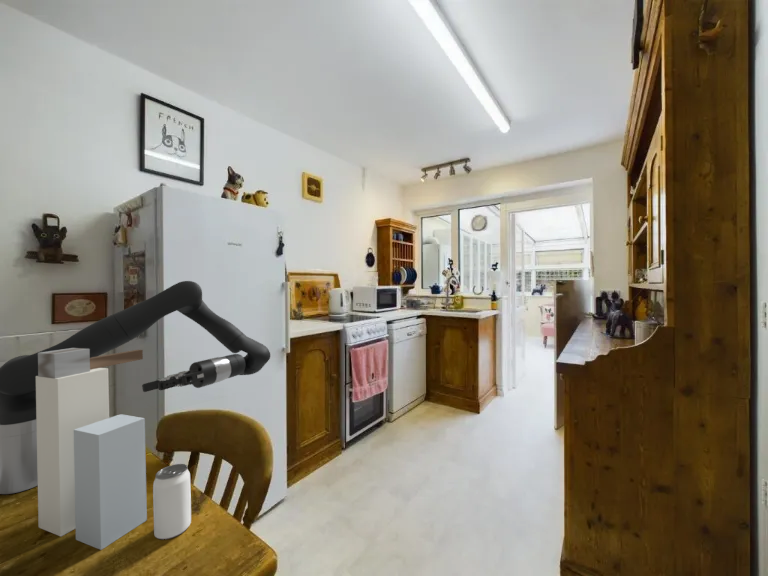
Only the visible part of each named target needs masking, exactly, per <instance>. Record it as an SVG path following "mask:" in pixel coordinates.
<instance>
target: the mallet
mask: <svg viewBox="0 0 768 576" xmlns="http://www.w3.org/2000/svg"><path fill="white" fill-rule="evenodd" d="M143 355H144V354H143V349H134V350H133V349H132V350H126V351H122V352H116V353H115V352H114V353H111V354H110V353H109V354H105V355H104V354H102V355H99V356H97V357H92V358H90V349H83V348H69V349H62V350H55V351H48V352H41V353H38V377H46V378H54V379H56V378H61V377H65V376H70V375H75V374H80V373H85V372H90V370H91V369H96V368H106V367H110V366H115V365H120V364H126V363H130V362H135V361H139V360H140V361H141V360H143V359H144V358H143V357H144V356H143Z"/></svg>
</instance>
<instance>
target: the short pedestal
mask: <svg viewBox="0 0 768 576" xmlns="http://www.w3.org/2000/svg"><path fill="white" fill-rule="evenodd" d="M146 455H147V454H146V419H145V417H140V416H139V417H138V416H135V415H134V416H133V415H127V414H122V413H121V414H117V415H114V416H109V418H107V419H104V420H101V421H98V422H95V423H92V424H89V425H86V426H83V427H80V428H77V429H74V473H75V523H76V528H75V540H76V541H78V542H81V543H84V544H85V545H88V546H90V547H93V548H95V549H98V550H100V551H102V550H104V549H105V548H106V547H108V546H109V545H111V544H113V543H114V542H116V541H117V540H118V539H121V538H122V537H123V536H126V534H128V533H129V532H131V531H132V530H134V529H136V528H137V527H140V525H142V524H143V523H145V522H146V521H148V513H147V512H148V511H147V510H148V509H147V507H148V506H147V504H148V503H147V474H146V473H147V462H146Z"/></svg>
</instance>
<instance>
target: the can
mask: <svg viewBox="0 0 768 576" xmlns="http://www.w3.org/2000/svg"><path fill="white" fill-rule="evenodd" d="M152 484H153V485H152V495H153V496H152V497H153V499H152V501H153V505H152V506H153V535H154V537H155V538H156V539H158V540H164V539H165V540H169V539H173V538H175V537H178V536H180V535H181V534H183V533H184V532H185V531H186V530H187V529H188V528H189V527H190V525H191V523H192V498H191V492H192V491H191V473H190V471H189V469H188V465H187V464H185V463H175V464H172V465H168V466H166V467H163V468H161V469H160V470H158V471H157V472H156V473H155V478H154V481H153V483H152Z"/></svg>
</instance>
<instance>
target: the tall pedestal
mask: <svg viewBox="0 0 768 576" xmlns="http://www.w3.org/2000/svg"><path fill="white" fill-rule="evenodd" d="M109 380H110V379H109V368H106V367H101V368H96V369H91V370H90V372H85V373H80V374H75V375H70V376H65V377H61V378H56V379H54V378H46V377H38V376H36V420H37V472H38V486H37V511H38V512H37V513H38V515H37V516H38V517H37V518H38V523H37V524H38V529H42V530H44V531H46V532H49V533H52V534H54V535H56V536H59V537H63V536H65V535H66V534H68V533H70V532H72V531H73V530H76V523H75V473H74V429H77V428H80V427H83V426H86V425H89V424H92V423H95V422H98V421H101V420H104V419H107V418H110V391H109V389H110V388H109V387H110V386H109V385H110V383H109Z"/></svg>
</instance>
